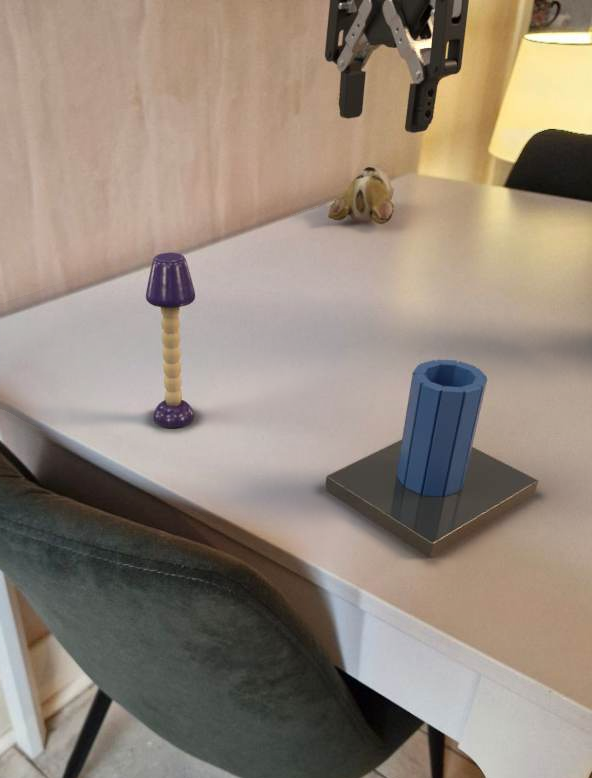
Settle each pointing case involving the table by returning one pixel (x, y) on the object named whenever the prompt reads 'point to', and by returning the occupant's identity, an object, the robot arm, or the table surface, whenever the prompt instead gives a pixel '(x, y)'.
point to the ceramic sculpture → (366, 198)
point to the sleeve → (440, 426)
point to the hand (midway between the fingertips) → (381, 123)
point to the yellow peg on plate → (430, 498)
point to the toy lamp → (171, 332)
